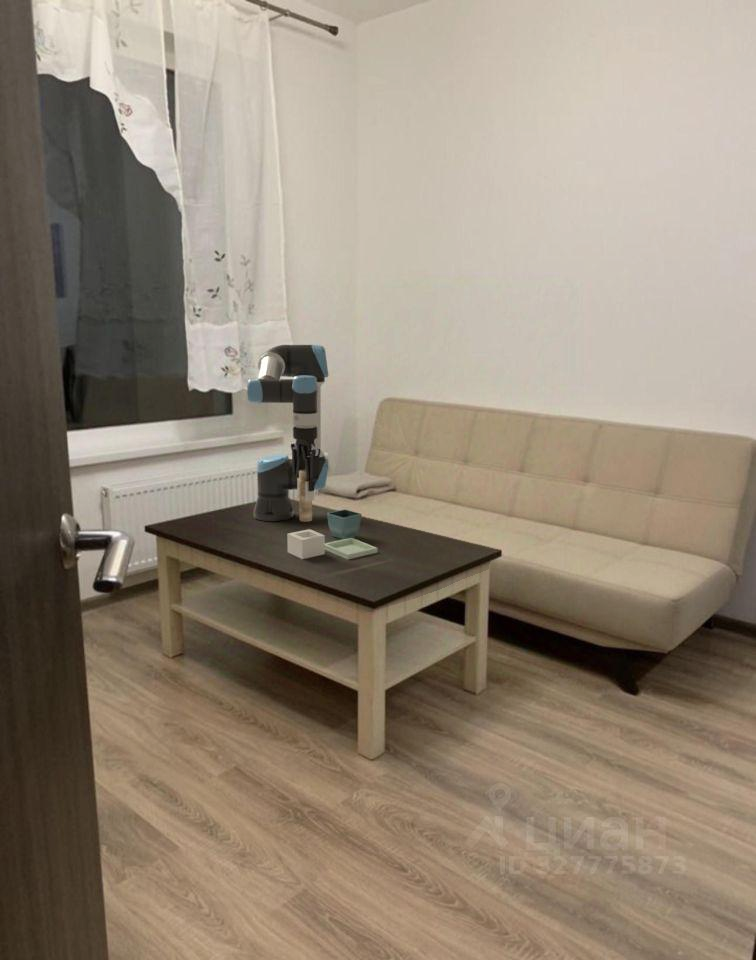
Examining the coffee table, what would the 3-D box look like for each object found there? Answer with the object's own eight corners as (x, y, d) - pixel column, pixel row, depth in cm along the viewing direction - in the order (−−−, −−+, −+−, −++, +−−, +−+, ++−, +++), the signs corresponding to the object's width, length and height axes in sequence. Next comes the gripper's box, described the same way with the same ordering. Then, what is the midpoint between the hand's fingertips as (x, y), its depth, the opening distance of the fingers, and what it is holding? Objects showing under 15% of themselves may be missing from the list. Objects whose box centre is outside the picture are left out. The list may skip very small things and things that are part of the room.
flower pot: (345, 533, 267) (345, 508, 265) (362, 538, 261) (362, 513, 259) (326, 538, 261) (326, 513, 259) (343, 543, 255) (343, 518, 253)
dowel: (297, 519, 240) (296, 470, 237) (307, 517, 243) (307, 468, 239) (304, 522, 237) (303, 472, 234) (314, 520, 240) (314, 471, 236)
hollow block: (287, 554, 243) (287, 533, 241) (309, 549, 248) (309, 529, 247) (302, 561, 236) (302, 540, 235) (324, 556, 242) (324, 535, 240)
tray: (322, 550, 247) (322, 543, 247) (351, 544, 255) (351, 537, 254) (347, 561, 237) (347, 554, 236) (377, 554, 244) (377, 547, 244)
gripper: (280, 423, 237) (281, 495, 243) (310, 430, 224) (310, 506, 230) (300, 421, 242) (301, 492, 247) (330, 428, 229) (330, 503, 234)
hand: (305, 498), depth 238 cm, fingers closed on dowel, 4 cm apart
